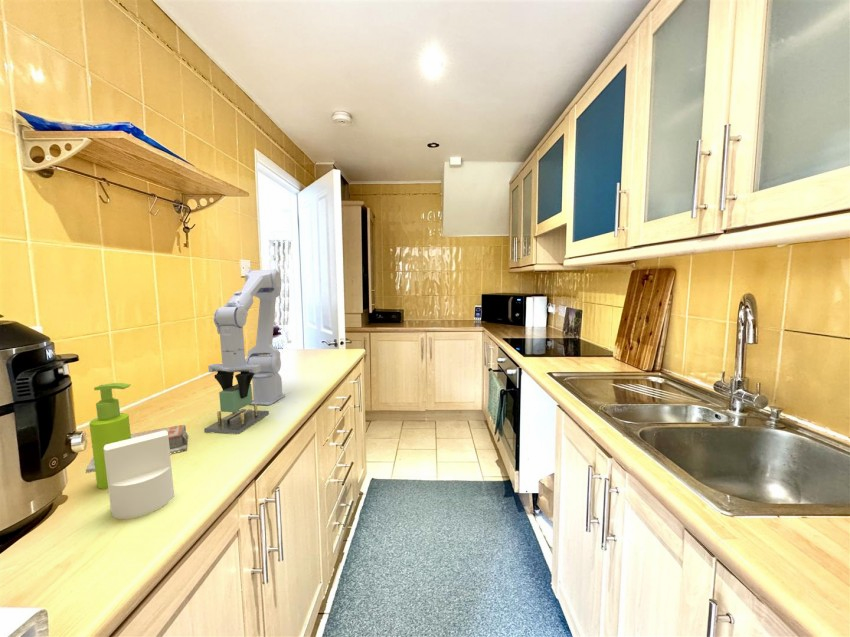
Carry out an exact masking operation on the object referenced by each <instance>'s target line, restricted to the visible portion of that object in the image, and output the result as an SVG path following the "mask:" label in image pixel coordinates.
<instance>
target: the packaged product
mask: <svg viewBox="0 0 850 637" xmlns="http://www.w3.org/2000/svg"><path fill="white" fill-rule="evenodd" d="M186 428H187V427H186V424H180V425H174V426H170V427H162V428H158V429H157V428H156V429H153V430H152V429H151V430H146V431H142V432H141V431H140V432H136V433H131V438H135V437H140V436H144V435H148V434H152V433H156V432H160V431H164V430H165V431H167V432H168V438H169V448H170V453H173V454H175V453H174V452H178V451H183V450H186V451H187V449H188V448H187V447H188V440H187V439H189V434H188V432H187V429H186ZM183 452H184V451H183ZM178 453H179V452H178ZM85 470H86V473H87V472H88V473H90V472H89V471H93V472H95V471H94V470H95V464H94V456H93V457H92V459H91V460H90V462H89V463H88V465H87V467H86V468H85Z"/></svg>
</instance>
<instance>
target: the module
mask: <svg viewBox="0 0 850 637" xmlns="http://www.w3.org/2000/svg"><path fill="white" fill-rule="evenodd" d="M218 395H219V405H220V411H221V413H232V412H236V411H238V410H241V409H244V408H245V407H247V406H248V405H251V404H250V403H252V400H253V388H252V384H251V383H250V386H249V390H248V396H247V397H245V398H243V399H242V398H241V397H240V392H239V385H238V383H236V384H235V385H233V386H232V387H229V388H227V389H225V390H223V389H222V390H221V391H219V392H218Z"/></svg>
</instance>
